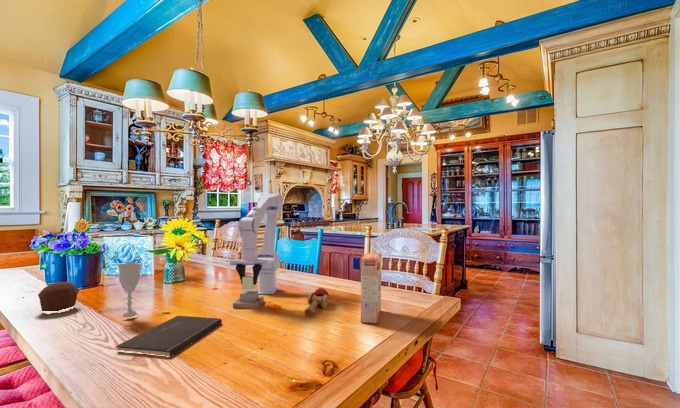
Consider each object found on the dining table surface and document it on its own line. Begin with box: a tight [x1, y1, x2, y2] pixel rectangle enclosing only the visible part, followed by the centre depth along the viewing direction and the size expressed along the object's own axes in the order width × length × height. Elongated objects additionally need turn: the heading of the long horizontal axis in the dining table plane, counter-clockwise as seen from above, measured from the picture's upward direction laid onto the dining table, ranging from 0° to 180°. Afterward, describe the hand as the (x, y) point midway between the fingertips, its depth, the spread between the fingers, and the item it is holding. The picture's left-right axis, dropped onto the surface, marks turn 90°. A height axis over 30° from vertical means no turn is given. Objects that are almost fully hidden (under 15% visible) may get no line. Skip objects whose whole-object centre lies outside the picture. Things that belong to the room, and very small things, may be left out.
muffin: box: [37, 281, 80, 312], centre depth 114 cm, size 12×11×10 cm
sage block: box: [241, 274, 256, 290], centre depth 120 cm, size 4×4×4 cm
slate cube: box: [239, 289, 259, 302], centre depth 120 cm, size 6×6×3 cm
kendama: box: [304, 288, 330, 318], centre depth 115 cm, size 8×6×18 cm
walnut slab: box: [232, 296, 265, 310], centre depth 120 cm, size 9×9×2 cm
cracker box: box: [360, 252, 382, 325], centre depth 107 cm, size 14×6×21 cm, turn 168°
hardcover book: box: [115, 315, 223, 358], centre depth 90 cm, size 16×23×2 cm
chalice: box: [117, 262, 143, 317], centre depth 106 cm, size 7×7×18 cm
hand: (249, 284), depth 120 cm, fingers closed on sage block, 4 cm apart
